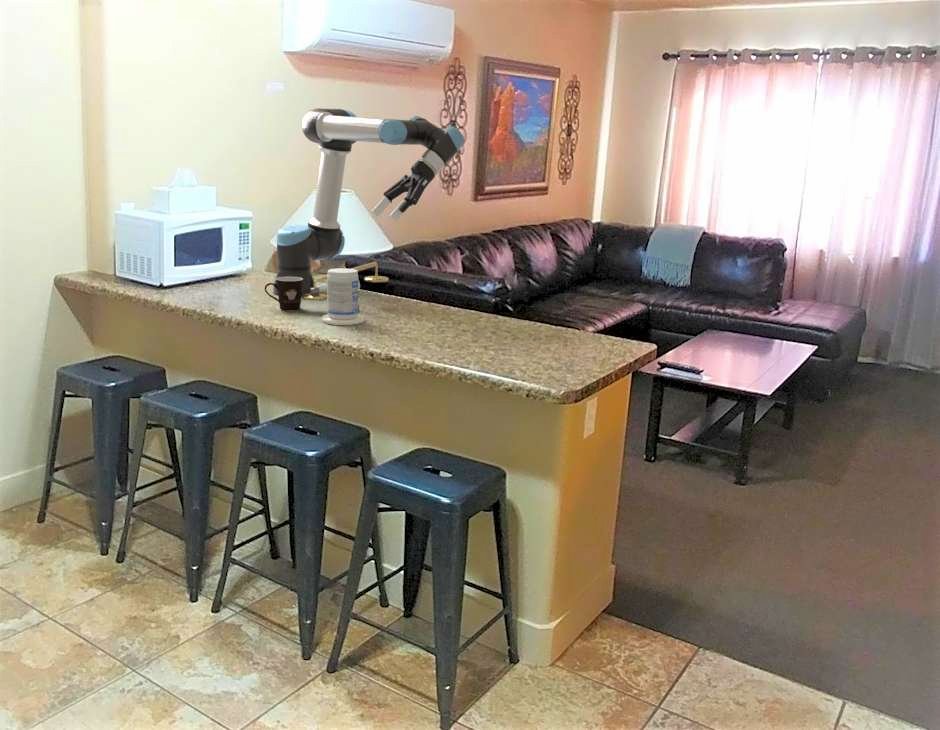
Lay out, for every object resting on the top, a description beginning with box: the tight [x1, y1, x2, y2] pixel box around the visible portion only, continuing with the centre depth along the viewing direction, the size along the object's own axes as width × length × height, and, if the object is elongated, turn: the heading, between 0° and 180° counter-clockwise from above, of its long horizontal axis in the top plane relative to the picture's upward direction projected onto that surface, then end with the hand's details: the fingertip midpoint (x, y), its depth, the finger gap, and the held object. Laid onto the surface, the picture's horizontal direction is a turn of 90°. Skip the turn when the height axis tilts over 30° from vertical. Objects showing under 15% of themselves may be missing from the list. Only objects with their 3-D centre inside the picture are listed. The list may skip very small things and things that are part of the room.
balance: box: [301, 261, 389, 312], centre depth 293 cm, size 8×30×15 cm, turn 120°
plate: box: [321, 313, 365, 326], centre depth 278 cm, size 13×13×1 cm
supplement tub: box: [326, 267, 359, 320], centre depth 276 cm, size 10×10×15 cm
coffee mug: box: [264, 277, 303, 312], centre depth 292 cm, size 12×9×10 cm
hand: (383, 216), depth 280 cm, fingers open, 13 cm apart
